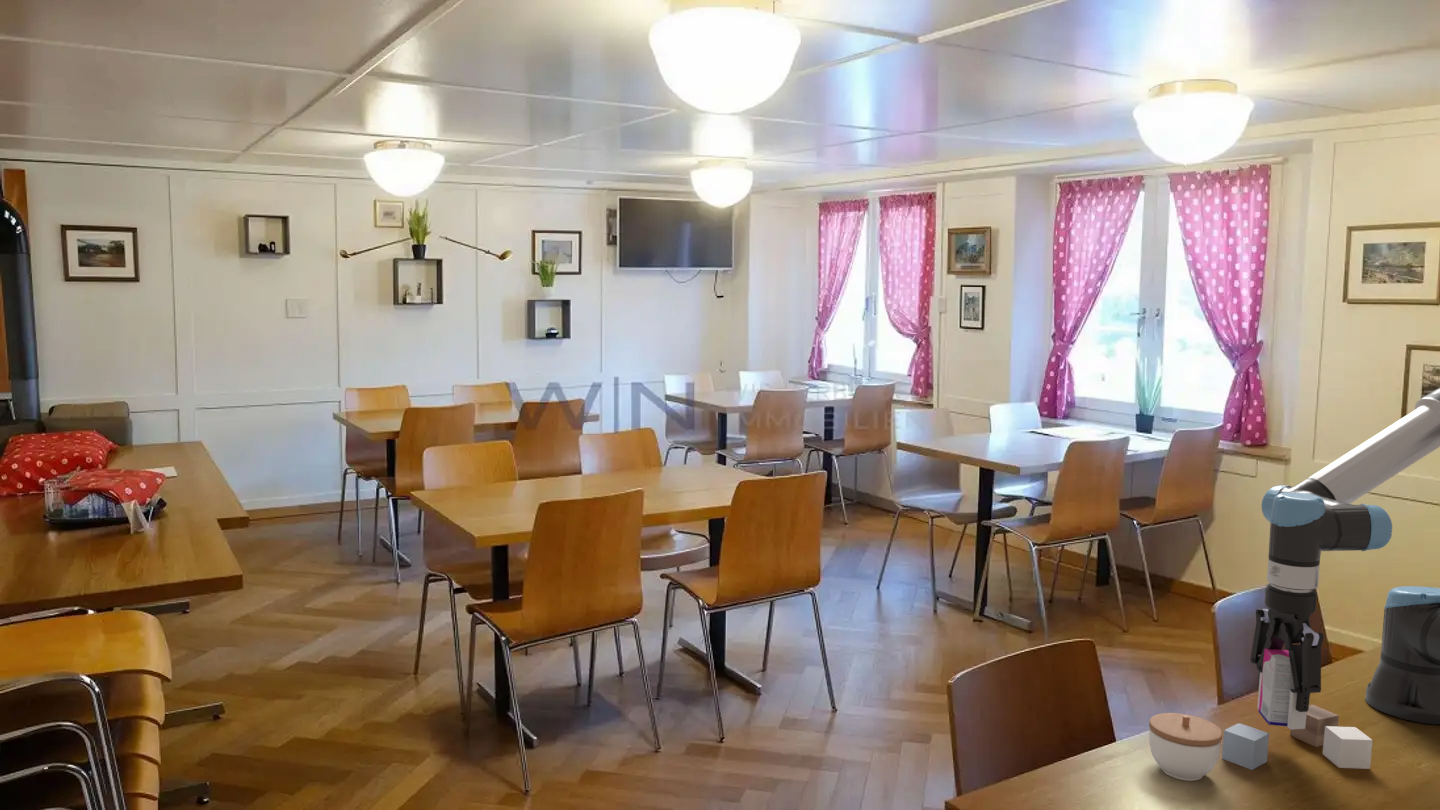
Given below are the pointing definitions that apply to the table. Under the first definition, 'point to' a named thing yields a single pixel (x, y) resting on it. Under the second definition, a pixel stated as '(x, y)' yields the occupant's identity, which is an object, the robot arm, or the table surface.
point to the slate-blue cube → (1245, 746)
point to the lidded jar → (1184, 745)
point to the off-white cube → (1347, 747)
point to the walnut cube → (1315, 726)
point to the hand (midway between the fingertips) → (1280, 718)
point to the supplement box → (1276, 687)
